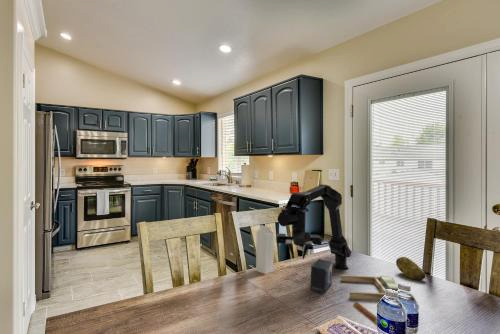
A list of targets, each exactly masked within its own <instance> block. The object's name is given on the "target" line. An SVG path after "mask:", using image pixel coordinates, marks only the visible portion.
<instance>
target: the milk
mask: <svg viewBox="0 0 500 334" xmlns="http://www.w3.org/2000/svg"><path fill="white" fill-rule="evenodd" d="M274 233H275V232H274V231H272V230H271V227H270V226H267V225H263V224H260V228H259V229H258V230H257V231H256V246H255V247H256V249H255V250H256V253H255V254H256V255H255V256H256V257H255V259H256V260H255V271H256V272H258V273H261V274H264V275H267V274H269V273H271V272H273V271H274V247H275V246H274V242H275V241H274V240H275V239H274V235H275V234H274Z"/></svg>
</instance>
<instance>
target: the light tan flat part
mask: <svg viewBox="0 0 500 334" xmlns="http://www.w3.org/2000/svg"><path fill="white" fill-rule="evenodd" d="M340 276H341V277H340V279H341V282H347V283H348V282H350V283H351V282H352V283H370V284H374V285H375V286H376V288H377V289H378V290H379V292H367V291H351V290H350V291H349V299H350V300H366V301H368V300H369V301H381V300H380V299H381V298H382V297H383V296H384V295H385V290H386V289H392V290H395V291H397V290H398V284H399V283H398V282H397V280H395V279H394V278H393V277H391V276H390V275H389V276H388V275H380V276H372V275H371V276H369V275H368V276H367V275H350V274H348V275H347V274H341V275H340Z"/></svg>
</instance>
